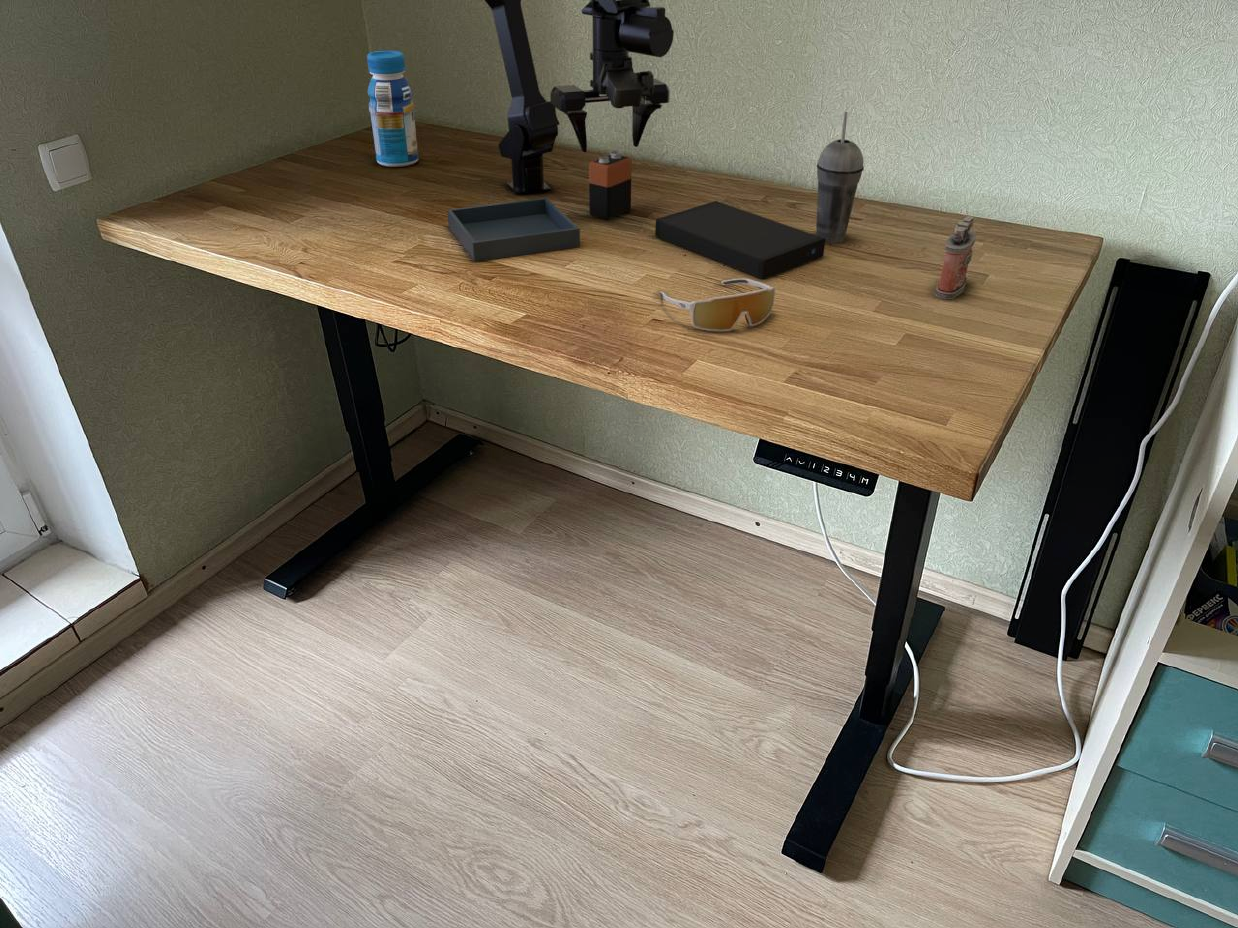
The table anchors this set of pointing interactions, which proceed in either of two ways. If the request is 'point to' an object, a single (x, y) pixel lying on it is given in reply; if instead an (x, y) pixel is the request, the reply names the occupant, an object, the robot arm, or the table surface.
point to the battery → (610, 185)
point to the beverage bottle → (391, 110)
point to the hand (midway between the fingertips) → (610, 149)
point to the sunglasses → (729, 307)
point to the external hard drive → (740, 239)
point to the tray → (512, 229)
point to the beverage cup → (837, 186)
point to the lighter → (956, 260)
